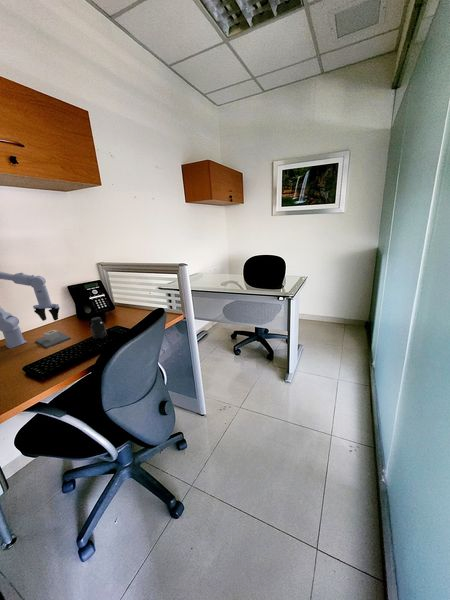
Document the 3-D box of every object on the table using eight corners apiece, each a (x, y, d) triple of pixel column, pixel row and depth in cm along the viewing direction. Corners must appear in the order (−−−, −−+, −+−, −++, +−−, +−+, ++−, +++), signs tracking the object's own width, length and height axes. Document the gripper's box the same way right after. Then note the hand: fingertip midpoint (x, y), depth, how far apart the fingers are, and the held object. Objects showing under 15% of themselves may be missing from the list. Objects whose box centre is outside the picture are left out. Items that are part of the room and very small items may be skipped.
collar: (45, 339, 134) (43, 333, 133) (54, 336, 138) (52, 329, 137) (51, 341, 132) (48, 334, 131) (60, 337, 136) (58, 330, 135)
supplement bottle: (108, 338, 132) (103, 318, 129) (94, 342, 129) (88, 322, 125) (106, 334, 138) (102, 315, 134) (93, 337, 135) (88, 318, 131)
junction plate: (35, 341, 135) (33, 333, 134) (59, 333, 145) (56, 325, 143) (47, 348, 126) (44, 339, 125) (70, 338, 136) (68, 330, 134)
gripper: (25, 300, 130) (33, 323, 135) (48, 299, 128) (56, 322, 133) (36, 296, 137) (43, 318, 141) (58, 295, 135) (65, 317, 139)
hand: (50, 320), depth 137 cm, fingers open, 7 cm apart
